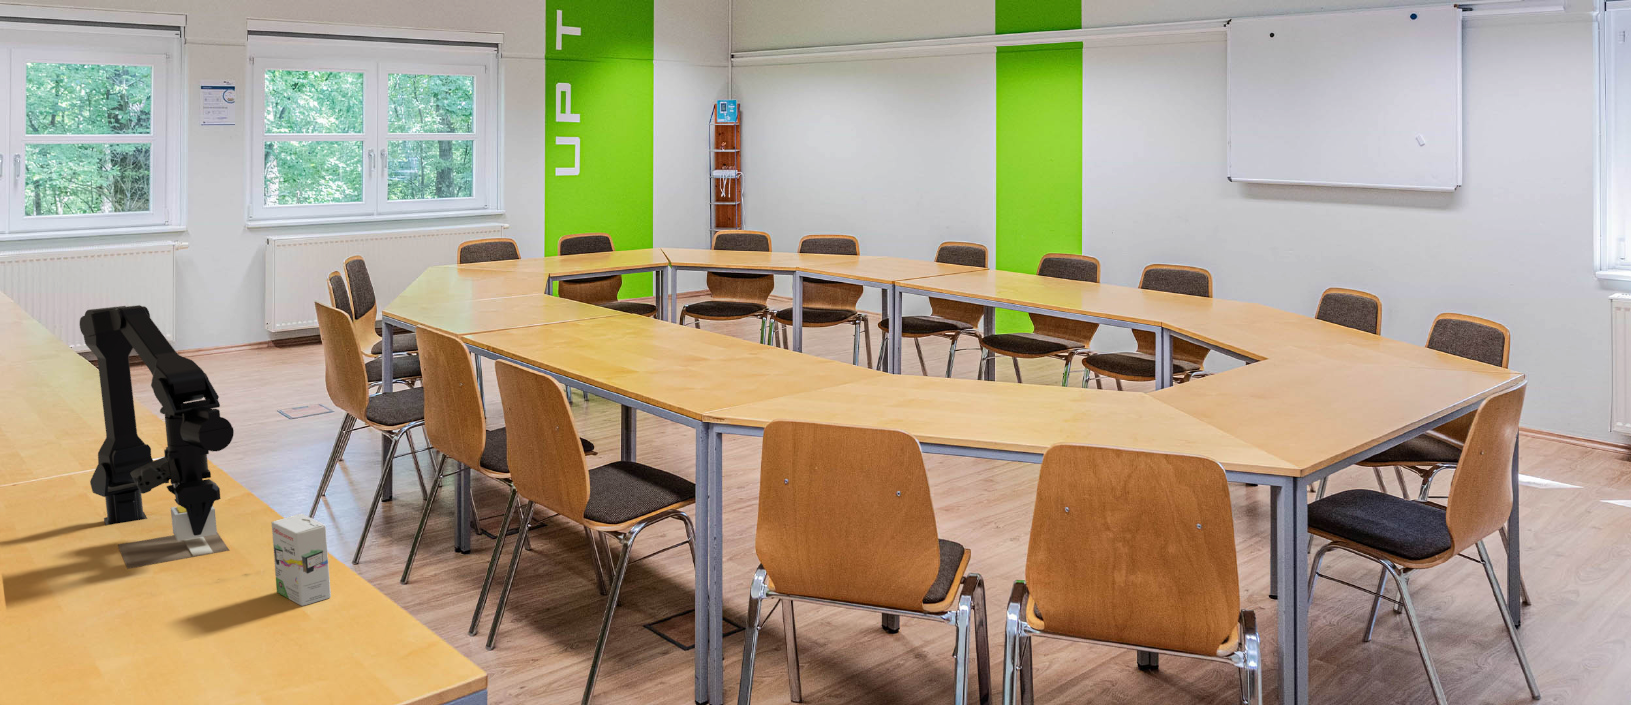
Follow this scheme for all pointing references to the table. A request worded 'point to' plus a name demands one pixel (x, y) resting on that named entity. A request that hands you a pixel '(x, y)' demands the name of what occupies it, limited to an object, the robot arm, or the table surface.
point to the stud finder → (183, 526)
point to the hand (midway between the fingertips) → (194, 530)
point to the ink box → (301, 559)
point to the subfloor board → (169, 549)
